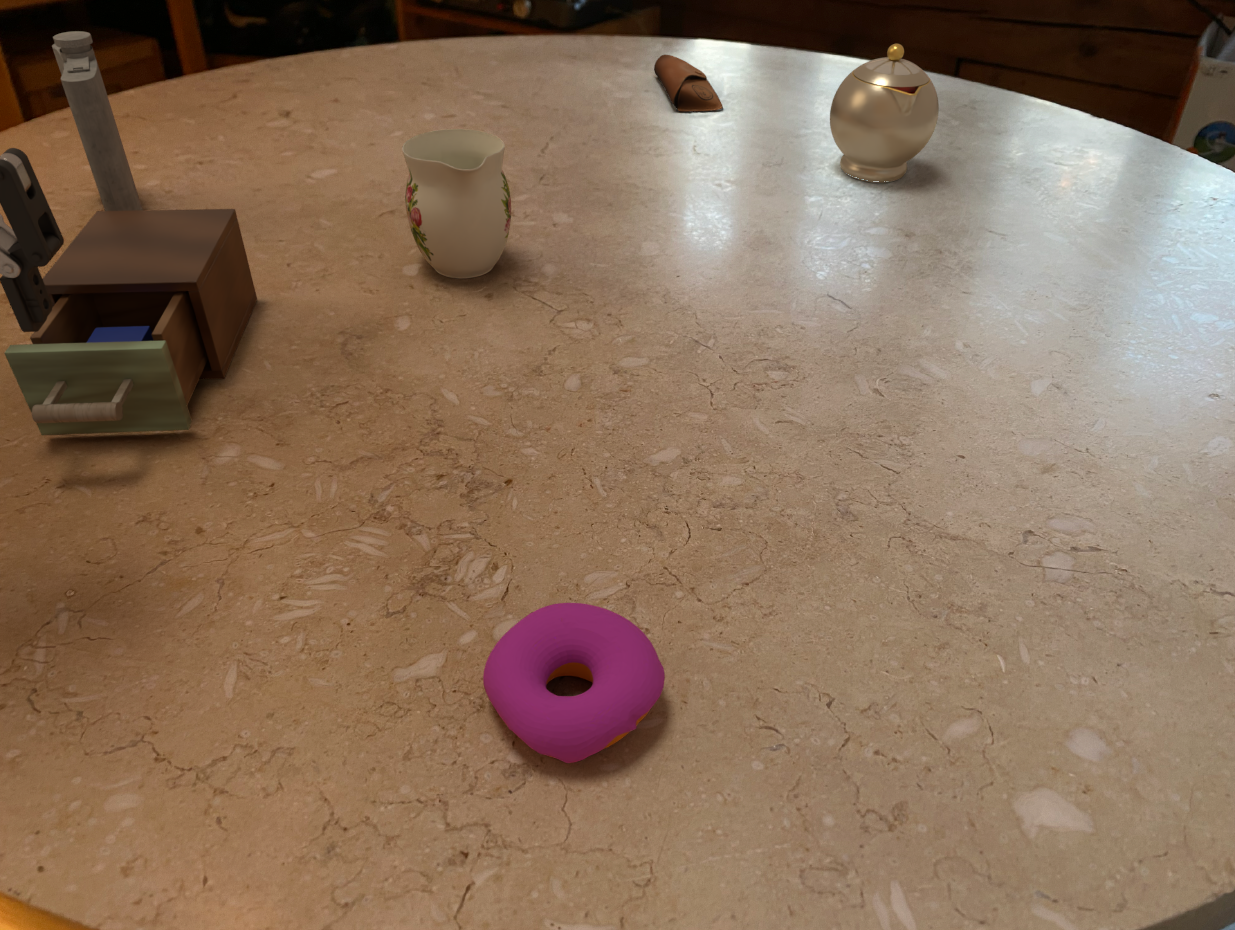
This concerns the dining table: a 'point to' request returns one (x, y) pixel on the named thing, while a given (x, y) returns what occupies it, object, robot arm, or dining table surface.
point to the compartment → (112, 365)
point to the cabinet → (167, 268)
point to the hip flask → (95, 121)
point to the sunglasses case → (686, 85)
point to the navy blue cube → (121, 334)
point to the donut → (580, 649)
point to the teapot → (883, 117)
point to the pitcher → (458, 199)
